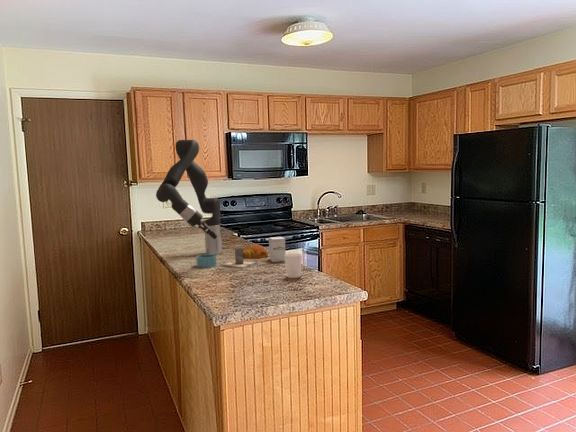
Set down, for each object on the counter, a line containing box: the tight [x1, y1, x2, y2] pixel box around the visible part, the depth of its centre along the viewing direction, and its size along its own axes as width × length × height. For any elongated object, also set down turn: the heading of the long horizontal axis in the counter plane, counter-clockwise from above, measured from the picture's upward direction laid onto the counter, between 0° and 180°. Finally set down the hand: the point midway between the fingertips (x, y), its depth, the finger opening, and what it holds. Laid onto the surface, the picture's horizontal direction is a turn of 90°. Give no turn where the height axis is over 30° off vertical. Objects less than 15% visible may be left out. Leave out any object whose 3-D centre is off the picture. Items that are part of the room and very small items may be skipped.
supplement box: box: [268, 236, 286, 263], centre depth 239 cm, size 7×7×13 cm
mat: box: [217, 262, 261, 270], centre depth 230 cm, size 16×16×1 cm
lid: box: [221, 246, 258, 269], centre depth 230 cm, size 13×13×9 cm
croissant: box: [242, 244, 269, 259], centre depth 253 cm, size 14×16×8 cm
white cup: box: [284, 252, 303, 279], centre depth 204 cm, size 8×8×10 cm
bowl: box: [195, 253, 218, 269], centre depth 231 cm, size 10×10×6 cm
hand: (215, 236), depth 226 cm, fingers open, 8 cm apart
